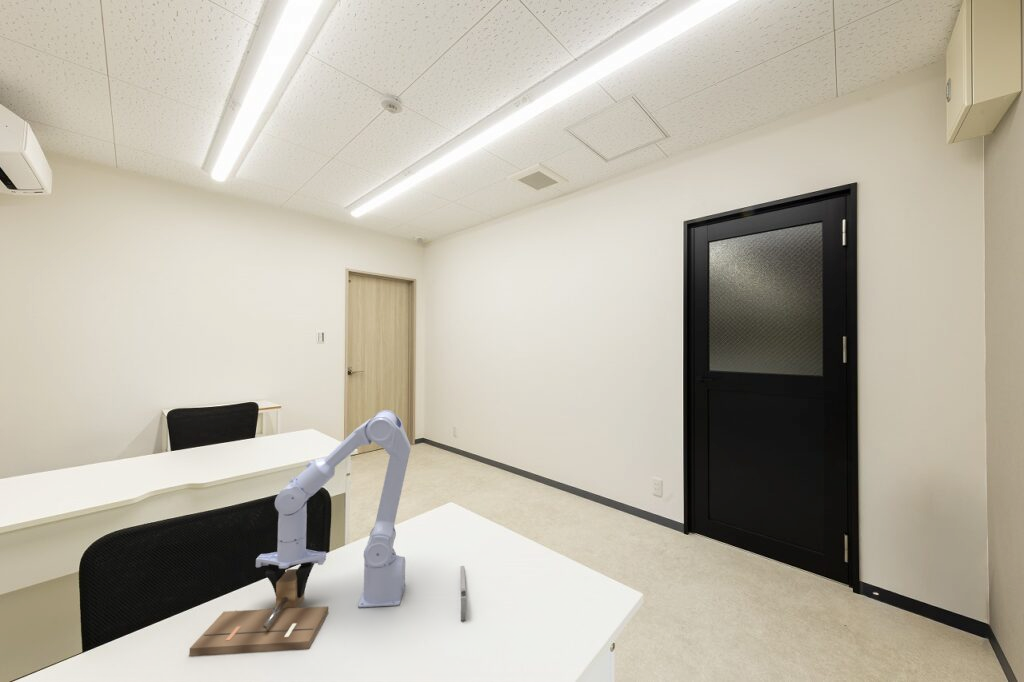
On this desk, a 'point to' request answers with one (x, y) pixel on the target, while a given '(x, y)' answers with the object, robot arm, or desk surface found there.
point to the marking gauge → (285, 594)
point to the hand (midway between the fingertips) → (290, 595)
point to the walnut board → (260, 631)
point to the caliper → (463, 594)
